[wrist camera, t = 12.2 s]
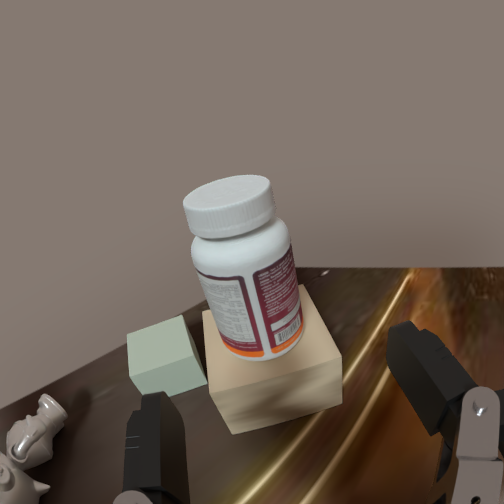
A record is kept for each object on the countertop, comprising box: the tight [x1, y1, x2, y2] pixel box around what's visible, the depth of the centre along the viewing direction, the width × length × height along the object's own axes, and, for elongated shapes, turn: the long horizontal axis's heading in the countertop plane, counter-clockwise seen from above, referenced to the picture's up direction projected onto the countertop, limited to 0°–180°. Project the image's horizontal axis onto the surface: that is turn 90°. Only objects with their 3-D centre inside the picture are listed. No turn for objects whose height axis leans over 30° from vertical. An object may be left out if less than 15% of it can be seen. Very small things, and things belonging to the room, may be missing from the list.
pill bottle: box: [183, 175, 304, 361], centre depth 21 cm, size 6×6×11 cm
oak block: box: [202, 284, 342, 435], centre depth 25 cm, size 9×9×6 cm
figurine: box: [0, 394, 68, 504], centre depth 17 cm, size 11×7×15 cm
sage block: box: [127, 315, 208, 397], centre depth 29 cm, size 6×6×4 cm
